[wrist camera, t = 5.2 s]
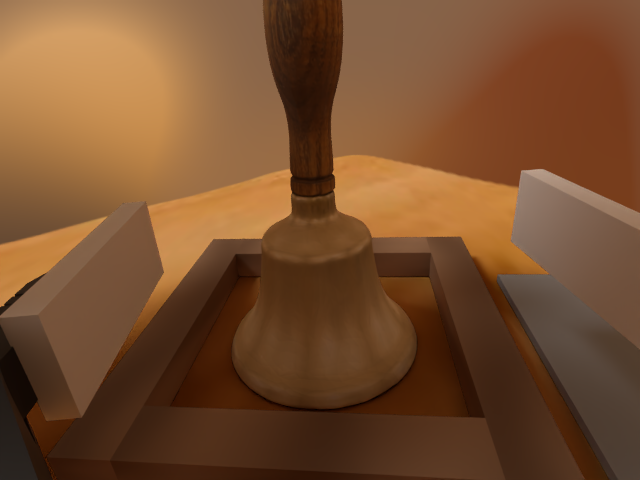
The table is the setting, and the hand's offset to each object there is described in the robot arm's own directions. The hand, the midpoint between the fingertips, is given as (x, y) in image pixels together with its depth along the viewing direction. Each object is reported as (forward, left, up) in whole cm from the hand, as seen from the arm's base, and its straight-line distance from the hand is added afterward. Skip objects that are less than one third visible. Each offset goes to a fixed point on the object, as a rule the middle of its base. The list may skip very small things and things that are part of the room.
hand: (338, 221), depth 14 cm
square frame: (-1, +1, -6) cm, 7 cm away
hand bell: (-1, +1, -7) cm, 7 cm away
